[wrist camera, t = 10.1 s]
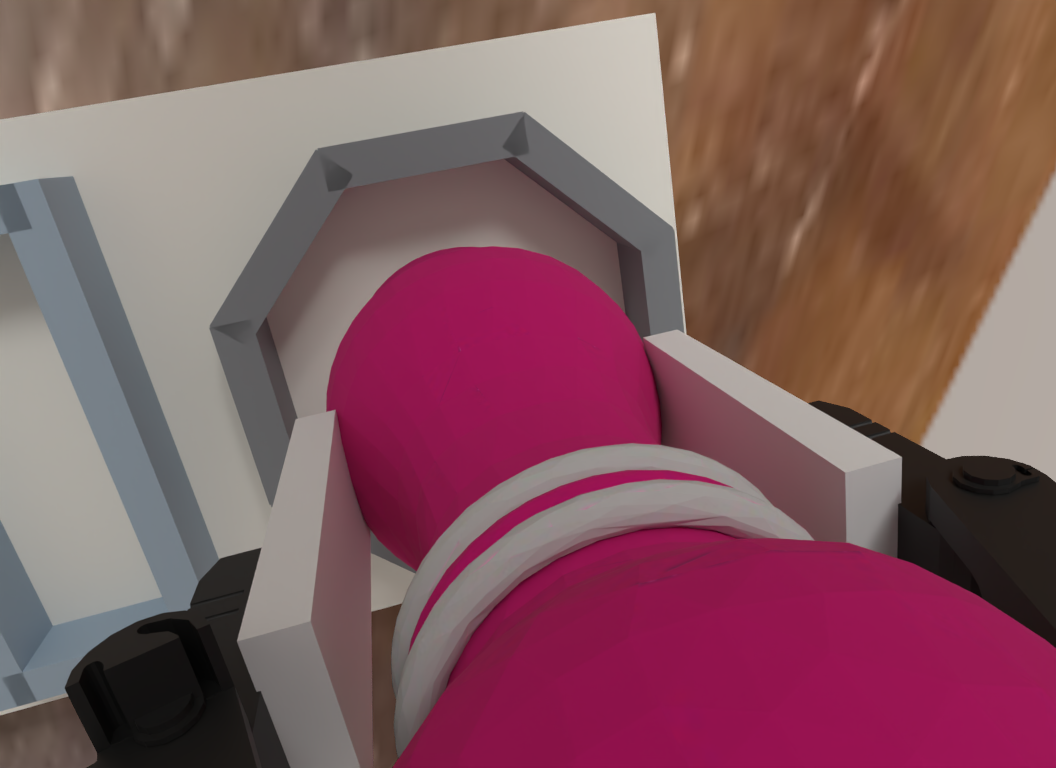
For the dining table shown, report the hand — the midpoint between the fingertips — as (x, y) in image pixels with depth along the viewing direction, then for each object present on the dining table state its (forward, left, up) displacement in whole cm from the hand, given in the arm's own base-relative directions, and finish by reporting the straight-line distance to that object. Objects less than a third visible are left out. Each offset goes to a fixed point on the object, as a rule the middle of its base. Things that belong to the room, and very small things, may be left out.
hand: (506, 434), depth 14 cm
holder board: (0, -5, -9) cm, 10 cm away
